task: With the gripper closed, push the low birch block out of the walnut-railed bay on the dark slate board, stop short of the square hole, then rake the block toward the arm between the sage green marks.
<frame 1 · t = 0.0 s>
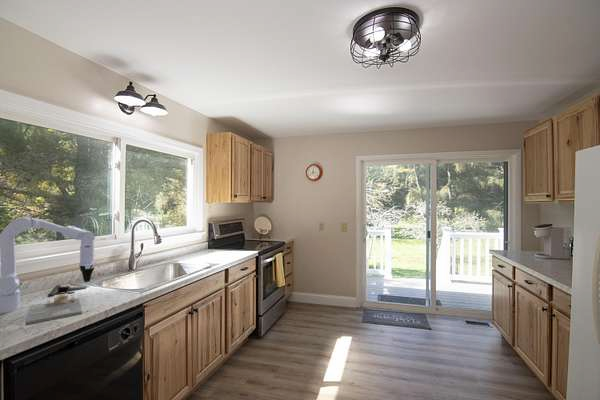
hand: (86, 280, 144), 10 cm above the worktop, tool pointing down, fingers open, 7 cm apart
slate board: (55, 311, 127), on the worktop
door handle: (67, 293, 155), on the worktop
birch block: (60, 302, 135), point 1 cm above the worktop, touching slate board
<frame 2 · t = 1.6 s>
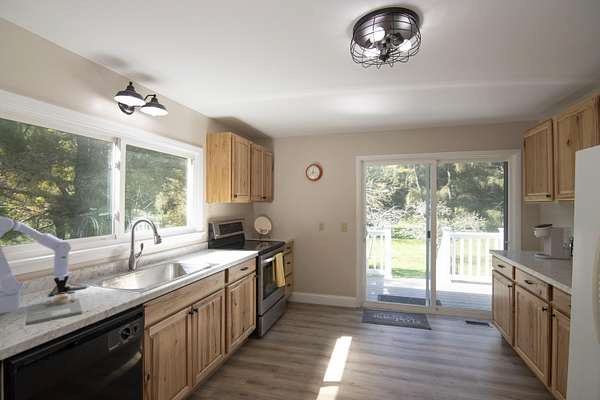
hand: (61, 291, 141), 5 cm above the worktop, tool pointing down, fingers closed
nothing on the worktop moved.
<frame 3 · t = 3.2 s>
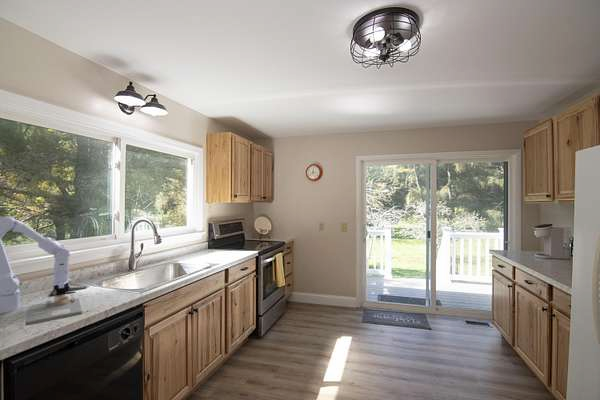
hand: (60, 299, 137), 2 cm above the worktop, tool pointing down, fingers closed
birch block: (61, 303, 134), point 2 cm above the worktop, touching gripper, slate board
everything else where it was.
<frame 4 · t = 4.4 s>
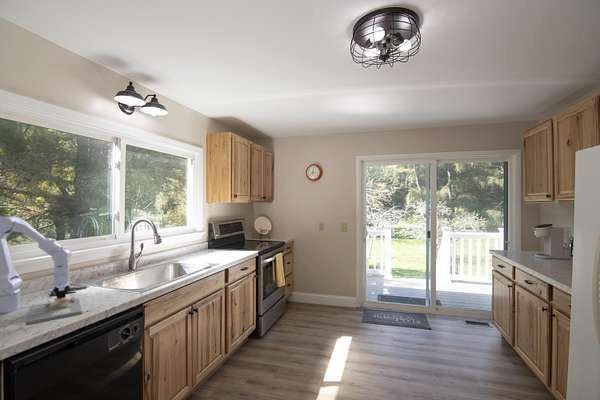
hand: (61, 302, 133), 2 cm above the worktop, tool pointing down, fingers closed
birch block: (61, 306, 130), point 1 cm above the worktop, touching gripper, slate board
everything else where it was.
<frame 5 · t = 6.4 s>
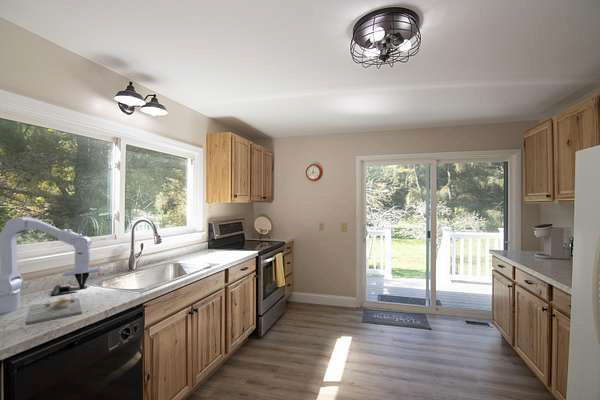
hand: (81, 288, 135), 8 cm above the worktop, tool pointing down, fingers closed
birch block: (61, 306, 130), point 1 cm above the worktop, touching slate board
everything else where it was.
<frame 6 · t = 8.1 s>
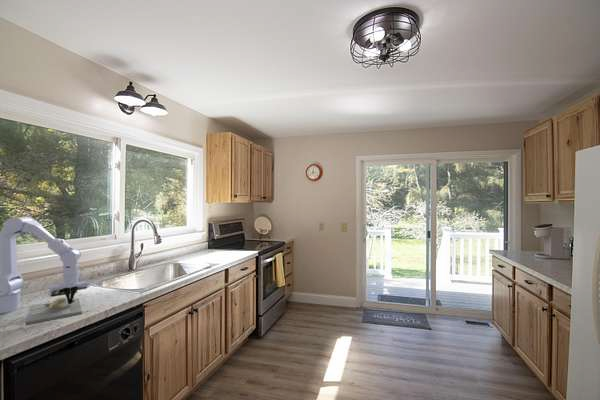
hand: (69, 303, 132), 2 cm above the worktop, tool pointing down, fingers closed
birch block: (59, 306, 130), point 2 cm above the worktop, touching gripper
everything else where it was.
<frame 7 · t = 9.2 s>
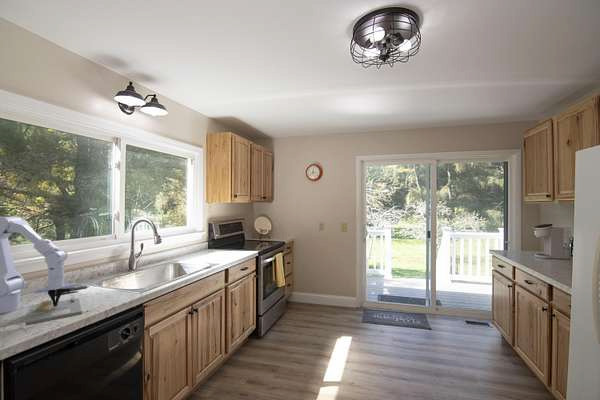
hand: (55, 305, 128), 2 cm above the worktop, tool pointing down, fingers closed
birch block: (44, 309, 126), point 2 cm above the worktop, touching gripper
everything else where it was.
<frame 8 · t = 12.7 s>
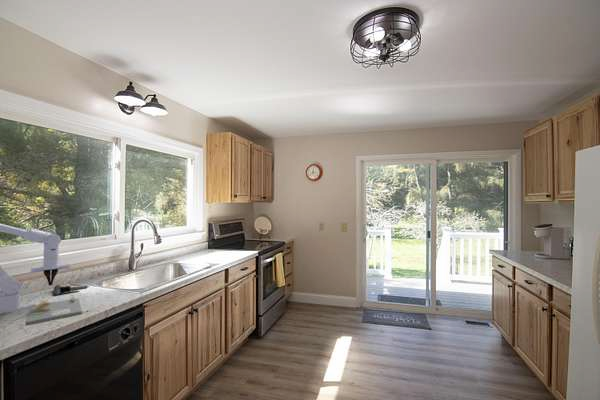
hand: (50, 284, 138), 9 cm above the worktop, tool pointing down, fingers closed
birch block: (43, 309, 126), point 1 cm above the worktop, touching slate board
at the end: birch block 0.3 cm from the target spot, point 1.5 cm above the worktop; birch block tilted 0°; birch block moved 9.1 cm from its start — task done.
